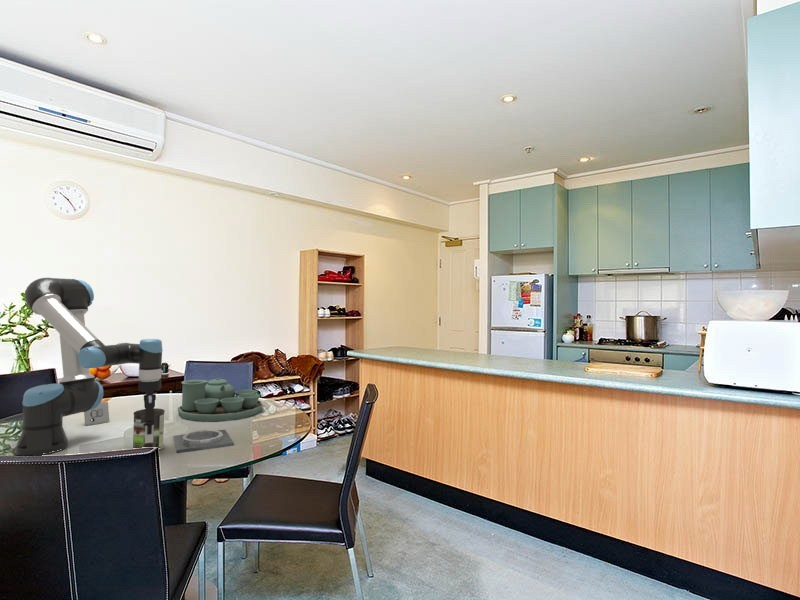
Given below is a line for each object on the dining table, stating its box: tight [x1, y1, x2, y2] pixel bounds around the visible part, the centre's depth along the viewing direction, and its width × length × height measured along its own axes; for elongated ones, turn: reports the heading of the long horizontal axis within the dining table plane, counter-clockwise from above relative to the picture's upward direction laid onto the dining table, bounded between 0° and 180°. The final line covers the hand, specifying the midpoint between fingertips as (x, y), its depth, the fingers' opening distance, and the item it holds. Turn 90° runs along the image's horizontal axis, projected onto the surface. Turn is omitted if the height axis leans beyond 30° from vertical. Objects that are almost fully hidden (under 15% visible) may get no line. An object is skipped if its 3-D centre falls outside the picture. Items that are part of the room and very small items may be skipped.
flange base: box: [172, 429, 235, 453], centre depth 178 cm, size 20×20×2 cm
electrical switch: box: [83, 401, 110, 426], centre depth 202 cm, size 9×5×9 cm, turn 141°
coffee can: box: [132, 407, 165, 450], centre depth 168 cm, size 10×10×14 cm
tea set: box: [177, 377, 263, 422], centre depth 227 cm, size 40×40×16 cm
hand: (148, 438), depth 168 cm, fingers closed on coffee can, 10 cm apart
